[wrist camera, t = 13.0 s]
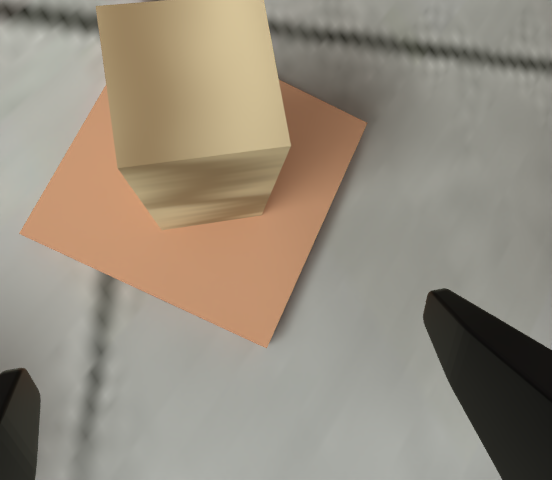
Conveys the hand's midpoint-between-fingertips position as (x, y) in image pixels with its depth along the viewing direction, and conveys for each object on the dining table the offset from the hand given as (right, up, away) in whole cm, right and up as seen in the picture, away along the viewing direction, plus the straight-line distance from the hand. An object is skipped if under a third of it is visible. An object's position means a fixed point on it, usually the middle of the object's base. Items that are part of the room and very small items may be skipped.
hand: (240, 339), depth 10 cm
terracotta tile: (-3, +5, +14) cm, 16 cm away
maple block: (-3, +6, +13) cm, 15 cm away
